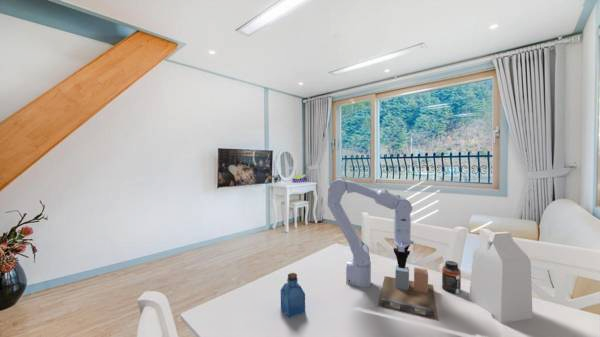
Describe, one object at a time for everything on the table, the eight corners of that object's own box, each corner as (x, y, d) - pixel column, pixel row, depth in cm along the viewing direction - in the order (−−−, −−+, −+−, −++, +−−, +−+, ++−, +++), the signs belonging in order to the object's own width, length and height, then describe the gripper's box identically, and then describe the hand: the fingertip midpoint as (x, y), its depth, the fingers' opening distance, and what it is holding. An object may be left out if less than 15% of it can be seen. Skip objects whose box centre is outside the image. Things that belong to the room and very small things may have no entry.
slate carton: (395, 287, 95) (395, 270, 94) (396, 282, 99) (396, 265, 98) (408, 290, 93) (408, 272, 92) (409, 284, 97) (409, 267, 96)
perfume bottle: (288, 317, 79) (287, 281, 79) (280, 307, 85) (280, 273, 84) (305, 312, 82) (304, 276, 82) (296, 302, 88) (296, 269, 87)
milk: (497, 298, 89) (499, 226, 88) (532, 318, 78) (535, 237, 77) (468, 301, 87) (470, 228, 86) (500, 323, 76) (502, 239, 74)
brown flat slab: (377, 308, 83) (377, 300, 83) (384, 278, 104) (384, 271, 104) (438, 323, 76) (438, 313, 76) (432, 287, 97) (433, 279, 96)
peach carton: (414, 290, 93) (414, 272, 92) (414, 284, 97) (414, 267, 97) (428, 293, 91) (428, 274, 91) (427, 287, 95) (427, 269, 95)
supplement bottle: (463, 297, 90) (463, 266, 89) (445, 295, 91) (445, 265, 90) (456, 288, 95) (456, 260, 95) (439, 287, 97) (440, 258, 96)
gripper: (413, 235, 87) (413, 273, 87) (413, 225, 100) (413, 258, 100) (392, 233, 89) (392, 270, 90) (395, 223, 103) (395, 255, 103)
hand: (402, 263), depth 95 cm, fingers open, 7 cm apart
